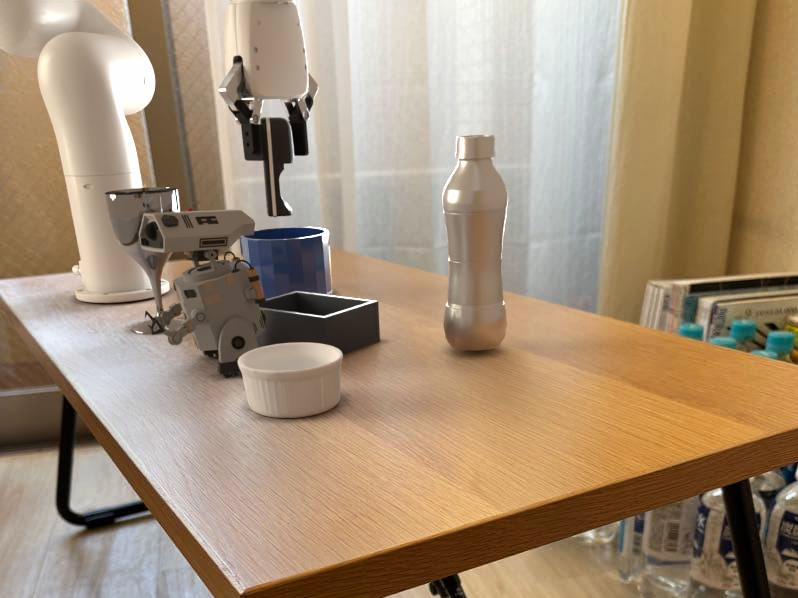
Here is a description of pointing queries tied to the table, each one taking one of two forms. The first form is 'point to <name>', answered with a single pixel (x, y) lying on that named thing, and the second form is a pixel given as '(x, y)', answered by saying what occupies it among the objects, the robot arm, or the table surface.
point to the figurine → (209, 283)
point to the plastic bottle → (475, 247)
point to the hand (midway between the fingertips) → (277, 156)
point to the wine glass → (126, 226)
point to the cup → (290, 259)
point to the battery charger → (276, 162)
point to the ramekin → (292, 379)
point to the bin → (320, 321)
